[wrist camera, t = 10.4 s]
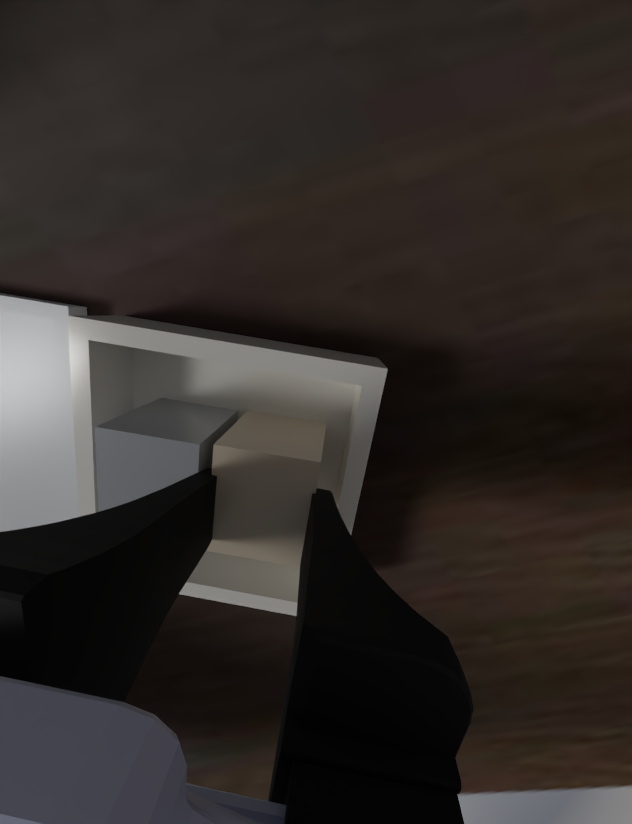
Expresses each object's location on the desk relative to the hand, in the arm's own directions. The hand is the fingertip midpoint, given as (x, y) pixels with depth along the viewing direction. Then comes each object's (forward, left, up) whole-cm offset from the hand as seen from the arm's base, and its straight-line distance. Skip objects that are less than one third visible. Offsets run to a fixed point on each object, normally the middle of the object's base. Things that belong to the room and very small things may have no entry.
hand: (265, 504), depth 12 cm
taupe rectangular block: (0, 0, -3) cm, 3 cm away
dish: (0, +2, -4) cm, 4 cm away
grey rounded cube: (0, +4, -3) cm, 5 cm away
